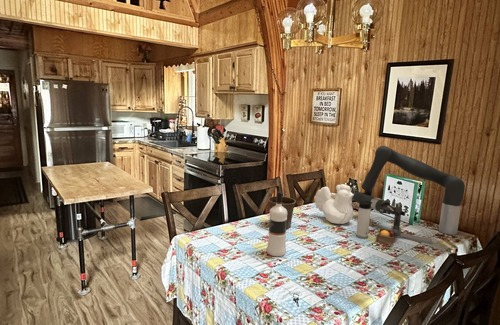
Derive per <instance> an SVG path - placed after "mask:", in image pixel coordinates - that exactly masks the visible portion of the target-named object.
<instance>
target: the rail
mask: <svg viewBox="0 0 500 325" xmlns="http://www.w3.org/2000/svg"><path fill="white" fill-rule="evenodd" d="M394 238H397V239H403V240H408V241H414V242H419V243H422V244H423V243H425V244H429V245H433V239H432V238H430V237H425V236H419V235H413V234H408V233H402V232H401V235H394Z"/></svg>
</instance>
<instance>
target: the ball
mask: <svg viewBox="0 0 500 325" xmlns="http://www.w3.org/2000/svg"><path fill="white" fill-rule="evenodd" d="M380 235H383V236H389V237H390V234H389V232H388V231H386V230H383V231H381V232H380Z"/></svg>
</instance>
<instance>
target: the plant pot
mask: <svg viewBox="0 0 500 325" xmlns="http://www.w3.org/2000/svg"><path fill="white" fill-rule="evenodd" d="M276 198H277V195H276V196H269V197H268V199H267V200H268V207H269V210H270V209H271V208H272V207H274V206H276ZM296 203H297V200H295V199H294V198H292V197H288V196H283V195H282V206H283V207H284V208H285V209H286V210H287V220H286V230H288V229H291V227H292V226H291V225H292V219H293V214H294V209H295V205H296Z"/></svg>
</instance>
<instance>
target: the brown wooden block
mask: <svg viewBox="0 0 500 325" xmlns="http://www.w3.org/2000/svg"><path fill="white" fill-rule="evenodd" d="M383 230H386V231H388V232H389V234H390V232H391V229H387V228H382V227H378V228H377V233H376V239H375V242H376V243H379V244H384V245H390V246H394V243H395V237H394V235H395V232H394V235H393V237H389V236H383V235H380V232H381V231H383Z"/></svg>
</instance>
